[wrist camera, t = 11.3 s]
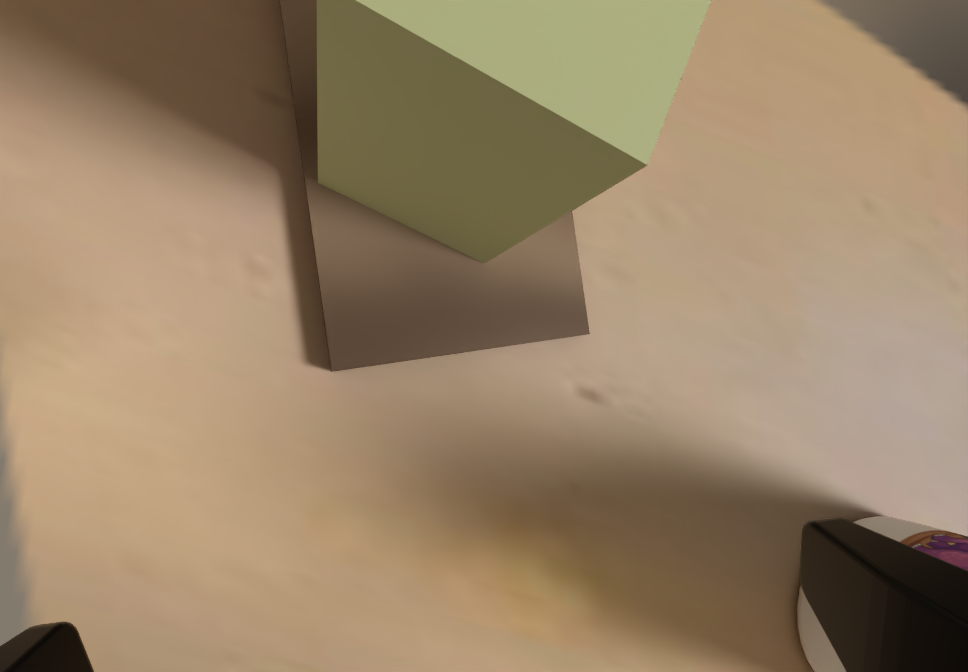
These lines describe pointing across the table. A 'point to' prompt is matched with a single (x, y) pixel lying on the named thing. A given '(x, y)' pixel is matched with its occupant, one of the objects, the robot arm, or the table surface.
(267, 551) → the table surface
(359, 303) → the walnut stud board
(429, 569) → the table surface
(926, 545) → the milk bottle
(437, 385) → the table surface
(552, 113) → the pale green upright block
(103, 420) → the table surface
